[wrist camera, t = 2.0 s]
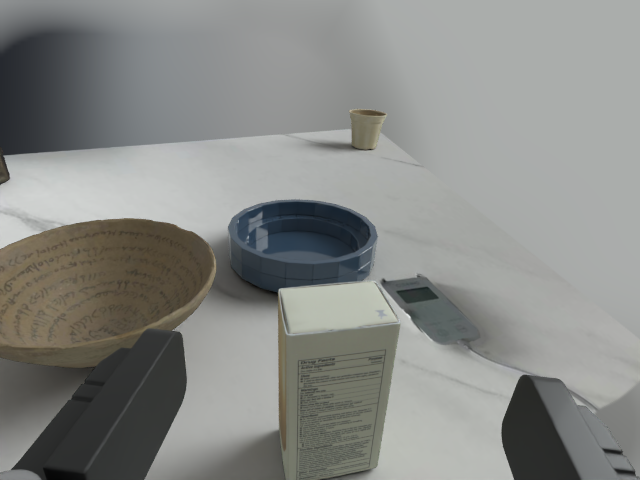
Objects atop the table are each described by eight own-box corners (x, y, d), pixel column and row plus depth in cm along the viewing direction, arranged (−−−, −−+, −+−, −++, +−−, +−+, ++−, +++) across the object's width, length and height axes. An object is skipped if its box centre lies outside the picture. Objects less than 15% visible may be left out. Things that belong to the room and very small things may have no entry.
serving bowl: (384, 243, 57) (388, 213, 55) (352, 316, 41) (357, 278, 39) (267, 220, 61) (267, 191, 59) (200, 277, 46) (198, 242, 44)
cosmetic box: (359, 416, 31) (380, 277, 25) (378, 471, 27) (408, 322, 21) (273, 428, 29) (275, 284, 24) (280, 487, 26) (286, 332, 20)
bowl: (-32, 486, 24) (-83, 388, 21) (-19, 317, 38) (-48, 240, 34) (252, 371, 34) (251, 290, 30) (183, 269, 47) (176, 205, 44)
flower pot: (378, 143, 110) (383, 110, 106) (386, 152, 101) (391, 116, 97) (343, 141, 109) (346, 108, 105) (348, 151, 100) (351, 114, 96)
